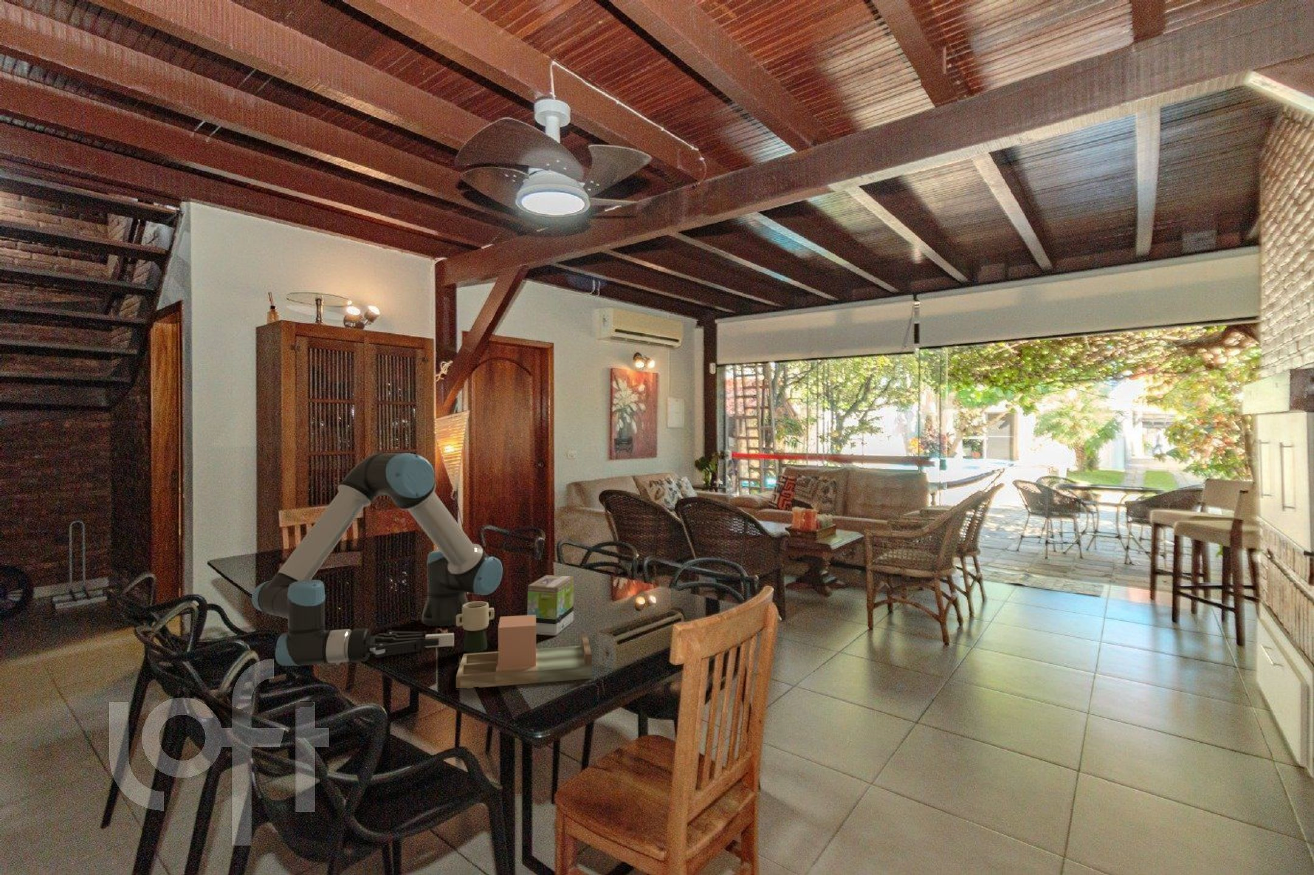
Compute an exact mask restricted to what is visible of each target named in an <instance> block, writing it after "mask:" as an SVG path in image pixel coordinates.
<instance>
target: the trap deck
mask: <svg viewBox="0 0 1314 875" xmlns="http://www.w3.org/2000/svg"><path fill="white" fill-rule="evenodd" d="M580 639H581V641H580V642H581V644H580V645H575V646H574V645H572V646H571V645H570V646H561V647H560V646H559V647H558V646H557V647H556V646H555V647H546V648H544V647H543V648H536V666H528V667H515V668H501V669H498V651H488V652H487V651H485V652H479V653H463V655H462V658H461V661H460V664H459V667H458V670H457V673H456V675H455V689H456V688H467V689H473V688H472V687H479V688H491V687H502V686H503V687H504V686H514V685H516V686H517V685H528V684H538V683H539V684H540V683H552V682H564V681H565V682H566V681H575V680H578V681H579V680H589V679H592V678H593V670H592V668H593V664H592V663H593V660H592V658H593V657H592V655H593V654H592V651H591V646H590V642H589V637H588V634H586V633H585V634H581V638H580ZM469 687H470V688H469Z"/></svg>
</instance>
